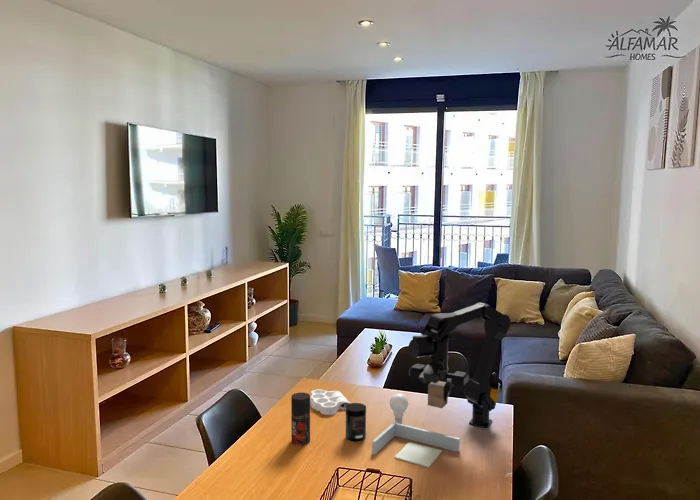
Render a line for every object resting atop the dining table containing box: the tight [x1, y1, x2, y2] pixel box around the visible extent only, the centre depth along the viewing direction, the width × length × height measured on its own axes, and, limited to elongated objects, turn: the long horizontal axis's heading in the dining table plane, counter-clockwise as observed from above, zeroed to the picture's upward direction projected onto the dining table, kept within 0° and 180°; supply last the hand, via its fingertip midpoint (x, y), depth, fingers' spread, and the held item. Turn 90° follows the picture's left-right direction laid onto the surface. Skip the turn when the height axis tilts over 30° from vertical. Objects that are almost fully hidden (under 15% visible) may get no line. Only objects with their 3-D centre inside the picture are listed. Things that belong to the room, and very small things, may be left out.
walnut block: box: [427, 380, 449, 409], centre depth 171 cm, size 5×5×7 cm
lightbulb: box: [389, 392, 409, 424], centre depth 179 cm, size 6×6×11 cm
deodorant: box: [290, 392, 311, 446], centre depth 166 cm, size 6×6×15 cm
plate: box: [394, 441, 443, 469], centre depth 158 cm, size 11×11×1 cm
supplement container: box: [344, 402, 367, 443], centre depth 169 cm, size 7×7×10 cm
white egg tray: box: [310, 388, 351, 416], centre depth 196 cm, size 3×18×15 cm
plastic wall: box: [371, 422, 461, 455], centre depth 160 cm, size 16×22×4 cm
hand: (437, 399), depth 171 cm, fingers closed on walnut block, 5 cm apart
